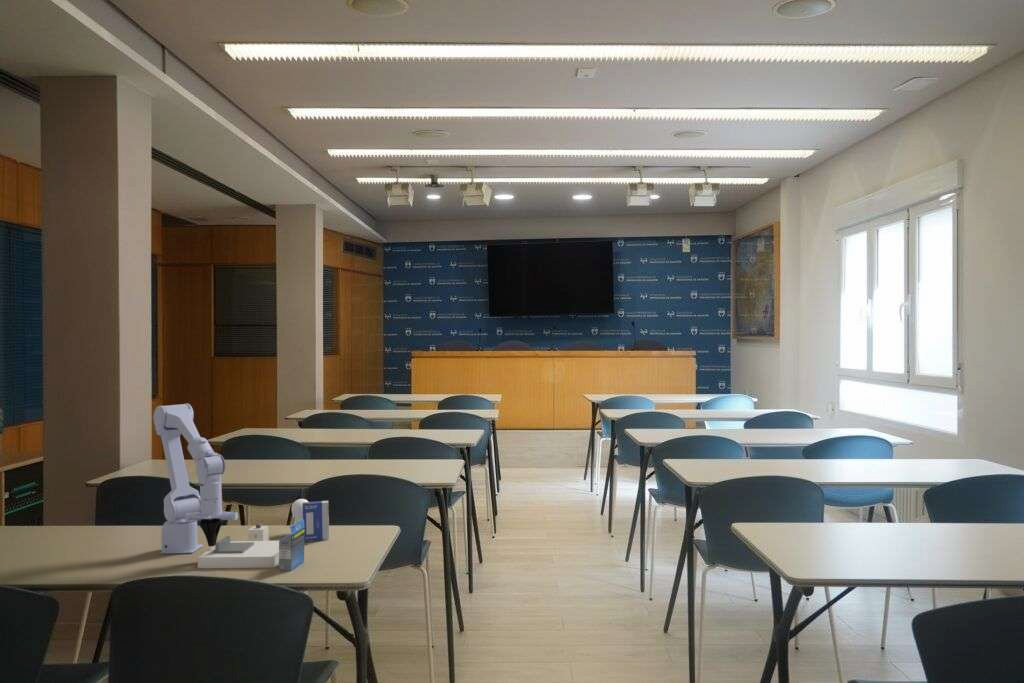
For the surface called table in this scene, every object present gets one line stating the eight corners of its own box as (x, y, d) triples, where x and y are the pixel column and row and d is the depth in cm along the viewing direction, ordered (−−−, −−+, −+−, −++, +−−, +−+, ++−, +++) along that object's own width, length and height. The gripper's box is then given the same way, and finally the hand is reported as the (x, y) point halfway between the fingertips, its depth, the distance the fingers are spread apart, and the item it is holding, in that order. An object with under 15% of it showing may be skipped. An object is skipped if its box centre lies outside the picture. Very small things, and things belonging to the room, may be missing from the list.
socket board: (197, 568, 205) (197, 556, 205) (221, 551, 221) (221, 540, 221) (273, 567, 205) (272, 555, 205) (291, 550, 221) (291, 539, 221)
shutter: (213, 553, 209) (212, 544, 209) (225, 544, 217) (225, 535, 217) (243, 552, 209) (242, 543, 208) (254, 544, 217) (253, 535, 217)
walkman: (303, 541, 230) (302, 503, 230) (303, 539, 233) (302, 501, 233) (329, 539, 232) (328, 501, 232) (329, 537, 235) (328, 499, 235)
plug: (248, 548, 224) (248, 526, 224) (254, 543, 229) (253, 522, 229) (263, 547, 224) (262, 526, 224) (268, 543, 229) (268, 522, 229)
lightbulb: (305, 535, 237) (305, 501, 237) (288, 535, 238) (287, 500, 238) (314, 530, 243) (314, 497, 243) (297, 530, 244) (296, 496, 244)
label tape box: (292, 561, 210) (291, 518, 210) (305, 561, 210) (304, 518, 210) (278, 571, 201) (277, 526, 201) (292, 571, 201) (291, 526, 201)
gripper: (179, 501, 209) (180, 549, 209) (230, 500, 209) (231, 548, 209) (190, 496, 216) (192, 542, 216) (240, 495, 216) (241, 541, 216)
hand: (212, 545), depth 213 cm, fingers closed
